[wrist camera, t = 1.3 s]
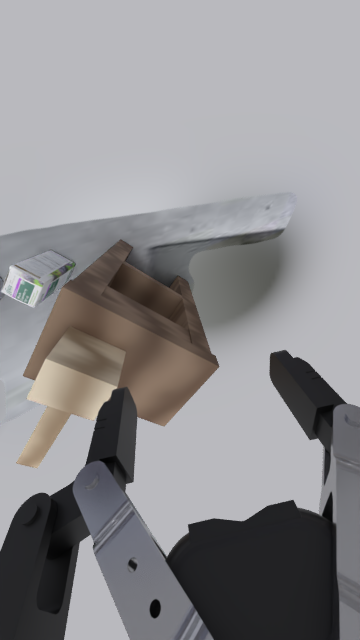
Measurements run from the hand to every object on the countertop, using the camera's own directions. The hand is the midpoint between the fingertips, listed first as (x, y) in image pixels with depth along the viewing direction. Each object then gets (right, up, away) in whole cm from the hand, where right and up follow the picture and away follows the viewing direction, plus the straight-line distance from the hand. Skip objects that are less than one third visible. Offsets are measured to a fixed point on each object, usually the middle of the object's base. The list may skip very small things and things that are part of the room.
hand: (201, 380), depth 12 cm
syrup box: (-29, +16, +37) cm, 50 cm away
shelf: (-10, +13, +40) cm, 43 cm away
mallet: (-15, -6, +14) cm, 21 cm away
